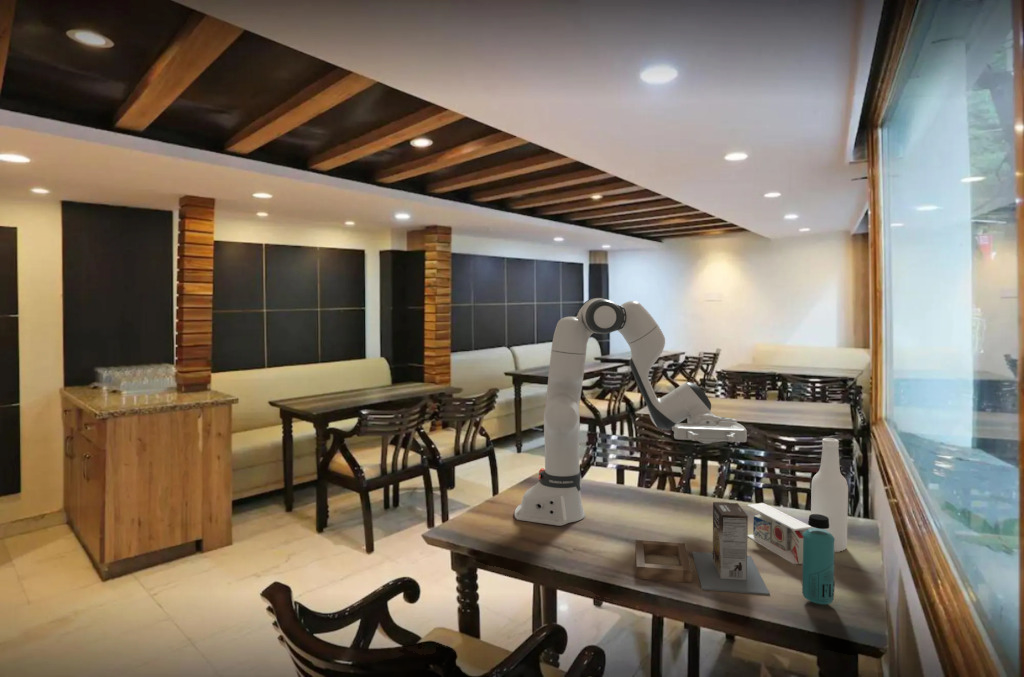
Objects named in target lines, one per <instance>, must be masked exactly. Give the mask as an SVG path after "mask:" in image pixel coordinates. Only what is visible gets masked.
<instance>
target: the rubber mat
mask: <svg viewBox="0 0 1024 677" xmlns="http://www.w3.org/2000/svg"><path fill="white" fill-rule="evenodd" d="M691 555H692V557H693V562H694V565H695V569H696V573H697V576H698V580H699V584H700V587H701V590H702V591H703V590H704V591H712V592H713V591H715V592H725V593H726V592H728V593H740V594H749V595H751V594H752V595H760V596H761V595H762V596H771V594H770V593H771V592H770V591H769V589H768V587H767V585H766V583H765V581H764V580H763V577H762V574H761V573H760V571H759V569H758V567H757V565H756V563H755V562H754V559H753V558H752V555H747V579H746V580H736V579H721V578H720V576H719V574H718V572H717V570H716V568H715V566H714V564H713V552H703V551H701V552H700V551H692V552H691Z"/></svg>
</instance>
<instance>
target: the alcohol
mask: <svg viewBox="0 0 1024 677" xmlns="http://www.w3.org/2000/svg"><path fill="white" fill-rule="evenodd" d="M821 441H822V442H821V445H822V450H821V458H820V459H821V460H820V468H819V470H818V471H817V472H816V474H814V476H812V480H811V486H810V487H811V491H810V492H811V494H810V496H811V499H810V502H811V503H810V515H811V514H820V515H824V516H826V517H828V518H829V528H828V529H824V530H827V531H828V532H829V533H831V534H832V536H833V537H834V538H835V541H834V553H841V552H840V551H842V552H844V551H845V550H846V549H847V546H848V543H847V542H848V514H849V513H848V512H849V511H848V508H849V507H848V506H849V486H848V482H847V479H846V478H845V477H844V475H842V473H841V470H840V453H839V447H840V444H839V443H840V441H839V440H838V439H837V438H833V437H825V438H822V440H821ZM812 528H814V527H812ZM843 550H844V551H843Z"/></svg>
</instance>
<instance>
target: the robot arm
mask: <svg viewBox="0 0 1024 677" xmlns="http://www.w3.org/2000/svg"><path fill="white" fill-rule="evenodd" d="M616 331H617V332H619V333H620V334H621V336H622V337H623V339H624V340H625V341H626V344H628V347H629V349H630V352H631V357H630V359H629V367H630V370H631V372H632V375H633V376H634V377H633V378H634V379H635V382H636V384H637V386H638V388H639V391H640V394H641V395H642V398H643V400H644V402H645V404H646V407H647V411H648V414H649V419H650V420H651V422H652V424H653V425H655V427H656V428H657V429H659V430H664V431H670V430H672V431H673V438H674V439H675V440H682V441H685V440H687V441H695V442H697V441H698V442H699V443H702V444H705V445H709V444H713V443H719V442H727V443H734V442H735V443H746V442H747V439H748V430H747V429H746V427H744V425H742V424H741V423H738V422H737V421H738V420H737V419H736V418H730V417H724V416H719V415H715V414H714V413H713V412H712V411H711V410H712V403H711V401H710V399H709V397H708V396H707V394H706V393H705V392H704V391H703V390H702V389H701V387H700V386H699V385H698V384H696V383H694V382H689V381H685V383H683V384H681V385H680V386H678V387H675V389H673V390H672V391H670V392H668V393H666V394H665V395H663V396H662V397H659V398H658V397H657V395H656V393H655V390H654V389H653V386H652V383H651V382H650V380H649V379H650V378H649V374H650V371H651V369H652V367H653V366H654V365H655V363H656V361H658V359H659V358H660V356H661V355H662V353H663V352H664V349H665V347H666V346H665V345H666V338H665V335H664V333H663V331H662V329H661V328H660V325H659V324H658V323H657V321H656V320H655V319H654V317H653V316H652V315H651V314H650V312H649V311H648V310H647V309H646V308H645V307H644V306H643V305H642V304H641V303H640V302H638V301H636V300H630V301H626V302H624V303H622V304H618V303H616V302H614V301H612V300H609V299H605V298H603V297H595V298H590V299H588V300H586V301H585V302H584V303H583V304H582V305H581V306H580V307H579V308H578V310H577V311H576V313H575V314H574V316H565V317H562V318H561V319H559V320H558V321H557V324H556V327H555V330H554V333H553V338H552V343H551V348H550V357H549V358H550V359H549V367H548V379H547V389H546V390H547V391H546V399H545V406H544V410H543V434H544V435H543V437H544V468H543V467H542V468H540V469H539V471H538V482H537V483H536V484H534V485H533V486H531V487H530V488H528V489H527V490H526V491H525V493H524V494H523V496H522V500H521V503H520V504H518V506H517V507H516V508H515V510H514V518H515V519H516V520H517V521H524V522H525V521H526V522H530V523H539V524H546V525H551V526H559V527H560V526H564V525H567V524H570V523H574V522H578V521H580V520H582V519H584V518H585V516H586V515H585V511H584V506H583V502H582V495H581V488H582V475H581V474H582V472H581V470H580V421H581V420H580V417H581V416H580V403H581V396H582V390H583V382H584V375H585V366H586V356H587V348H588V341H589V340H590V338H591V336H592V335H593V334H599V335H607V334H611V333H614V332H616ZM686 419H687V422H685V423H684V422H683V421H685V420H686Z"/></svg>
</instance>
